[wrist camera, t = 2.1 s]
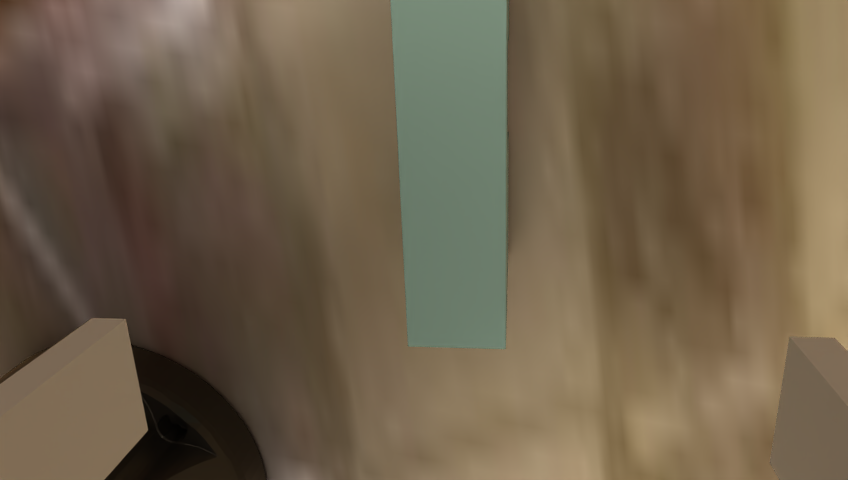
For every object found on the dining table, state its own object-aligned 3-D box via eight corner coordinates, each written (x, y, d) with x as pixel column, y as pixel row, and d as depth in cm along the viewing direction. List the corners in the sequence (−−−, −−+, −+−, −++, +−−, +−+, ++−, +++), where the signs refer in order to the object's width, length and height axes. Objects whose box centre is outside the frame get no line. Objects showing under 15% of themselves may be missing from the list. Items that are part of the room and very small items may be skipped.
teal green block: (436, 256, 28) (407, 346, 20) (424, -114, 23) (381, -173, 16) (508, 257, 27) (505, 349, 20) (509, -119, 23) (507, -183, 15)
